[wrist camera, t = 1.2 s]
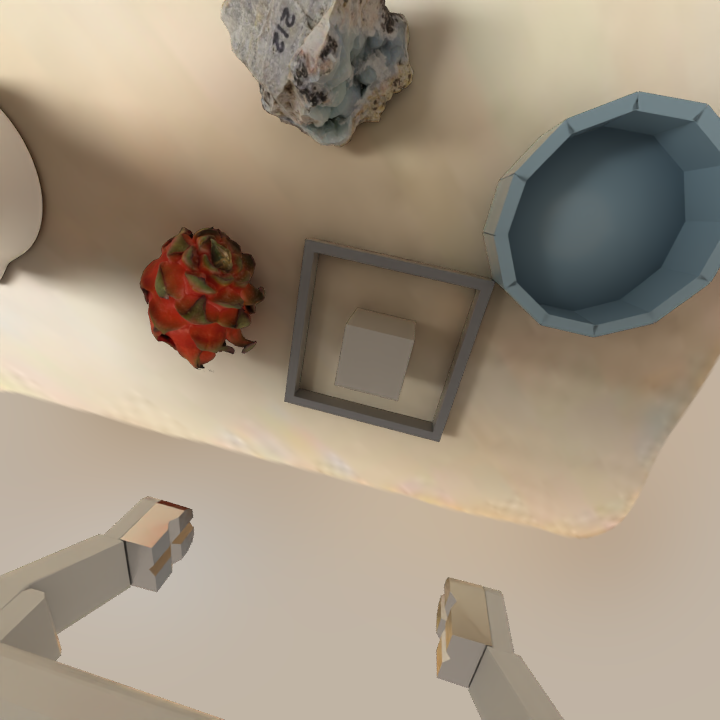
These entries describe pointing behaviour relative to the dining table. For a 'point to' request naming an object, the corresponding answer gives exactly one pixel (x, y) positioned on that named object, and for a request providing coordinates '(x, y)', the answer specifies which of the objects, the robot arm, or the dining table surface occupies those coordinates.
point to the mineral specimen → (321, 60)
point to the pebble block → (375, 353)
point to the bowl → (611, 216)
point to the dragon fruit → (201, 294)
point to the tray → (363, 411)
